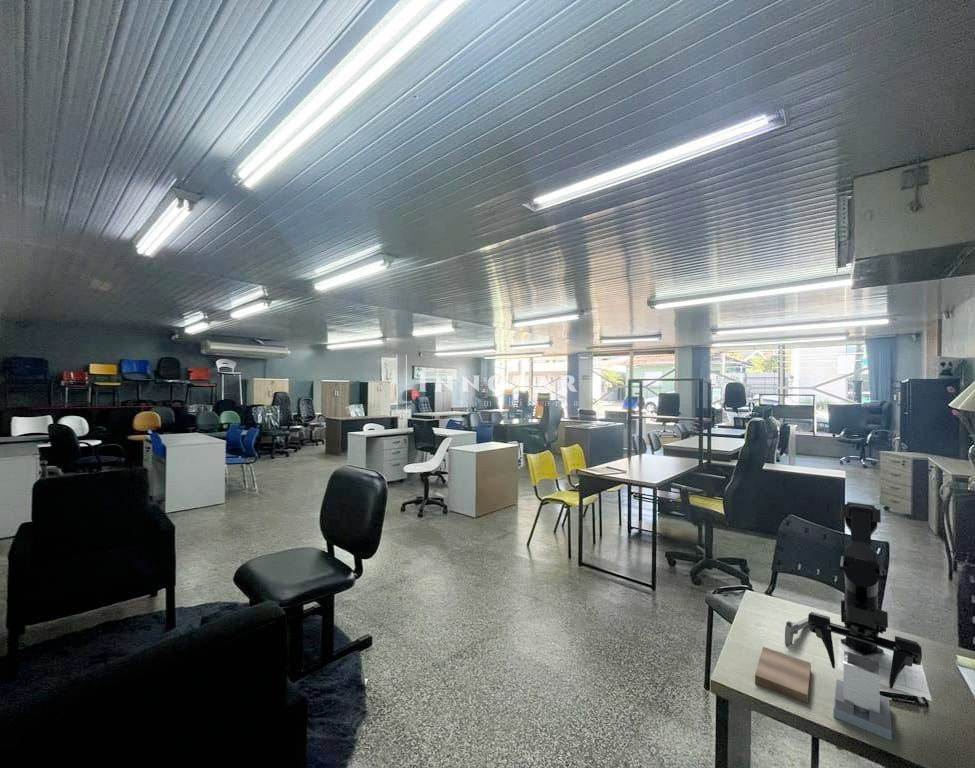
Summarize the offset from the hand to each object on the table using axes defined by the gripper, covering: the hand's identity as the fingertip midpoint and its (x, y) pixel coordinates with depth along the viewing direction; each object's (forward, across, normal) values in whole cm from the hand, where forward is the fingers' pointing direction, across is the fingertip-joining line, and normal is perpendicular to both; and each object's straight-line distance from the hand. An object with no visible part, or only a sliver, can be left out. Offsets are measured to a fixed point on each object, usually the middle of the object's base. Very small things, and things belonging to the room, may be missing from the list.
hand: (861, 677), depth 89 cm
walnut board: (+3, -14, +9) cm, 17 cm away
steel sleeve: (+3, 0, +3) cm, 5 cm away
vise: (+5, 0, +8) cm, 9 cm away
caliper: (-14, -13, +27) cm, 33 cm away
